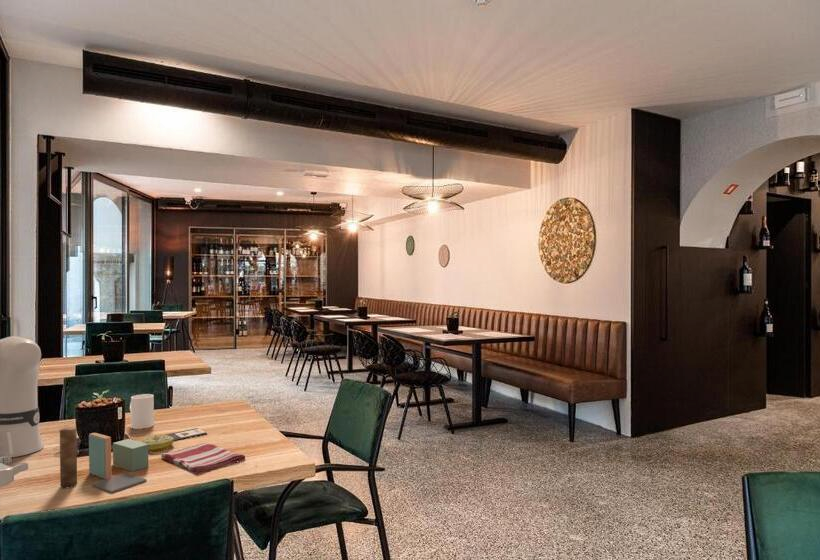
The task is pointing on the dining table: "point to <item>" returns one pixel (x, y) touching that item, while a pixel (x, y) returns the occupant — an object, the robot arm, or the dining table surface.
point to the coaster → (119, 482)
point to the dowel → (68, 457)
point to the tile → (100, 455)
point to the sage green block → (130, 455)
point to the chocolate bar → (186, 434)
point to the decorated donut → (158, 442)
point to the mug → (142, 411)
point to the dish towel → (202, 457)
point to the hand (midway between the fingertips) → (18, 462)
